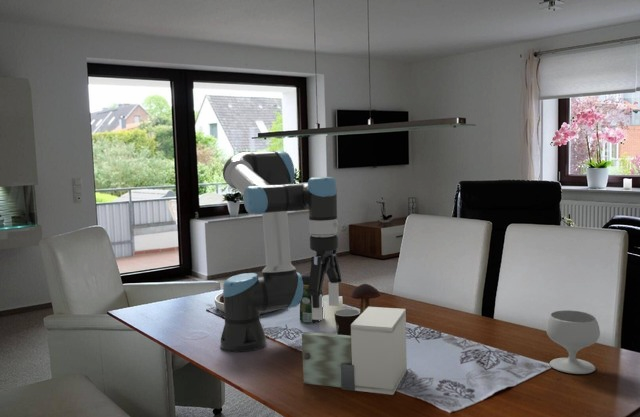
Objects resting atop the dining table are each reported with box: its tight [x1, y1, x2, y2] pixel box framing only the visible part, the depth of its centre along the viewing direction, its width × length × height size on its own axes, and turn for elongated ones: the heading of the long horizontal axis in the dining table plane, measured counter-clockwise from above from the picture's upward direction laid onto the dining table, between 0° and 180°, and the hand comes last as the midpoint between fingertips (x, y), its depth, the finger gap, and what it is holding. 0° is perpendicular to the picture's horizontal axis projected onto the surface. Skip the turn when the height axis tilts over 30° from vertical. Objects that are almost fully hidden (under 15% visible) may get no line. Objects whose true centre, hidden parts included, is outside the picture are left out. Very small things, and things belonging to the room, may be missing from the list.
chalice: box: [545, 309, 601, 375], centre depth 164 cm, size 14×14×15 cm
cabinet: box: [351, 306, 408, 396], centre depth 160 cm, size 11×18×18 cm, turn 160°
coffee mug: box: [334, 308, 360, 336], centre depth 194 cm, size 12×9×10 cm
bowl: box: [214, 292, 276, 315], centre depth 241 cm, size 30×30×8 cm
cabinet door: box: [301, 331, 352, 388], centre depth 157 cm, size 14×3×14 cm, turn 70°
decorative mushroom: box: [350, 283, 381, 315], centre depth 211 cm, size 11×11×15 cm
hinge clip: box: [341, 363, 356, 392], centre depth 156 cm, size 4×6×9 cm
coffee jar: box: [299, 271, 324, 325], centre depth 217 cm, size 10×8×19 cm
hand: (326, 312), depth 156 cm, fingers open, 13 cm apart
